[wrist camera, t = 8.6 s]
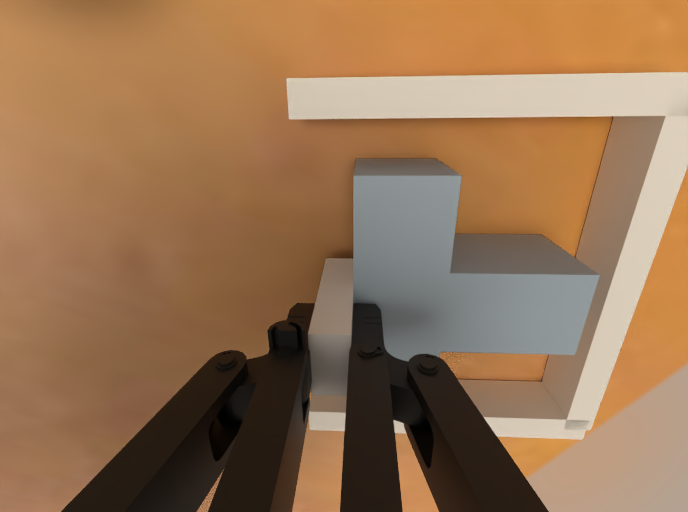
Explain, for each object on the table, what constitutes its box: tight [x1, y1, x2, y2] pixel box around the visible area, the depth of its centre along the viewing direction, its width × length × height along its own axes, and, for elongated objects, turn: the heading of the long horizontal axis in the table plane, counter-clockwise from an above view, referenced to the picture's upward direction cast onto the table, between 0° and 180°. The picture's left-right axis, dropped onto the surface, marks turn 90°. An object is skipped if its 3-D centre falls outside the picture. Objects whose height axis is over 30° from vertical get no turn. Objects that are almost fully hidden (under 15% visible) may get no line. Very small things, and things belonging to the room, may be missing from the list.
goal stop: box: [286, 72, 688, 439], centre depth 18 cm, size 16×19×3 cm
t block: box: [353, 158, 600, 362], centre depth 17 cm, size 10×12×5 cm
